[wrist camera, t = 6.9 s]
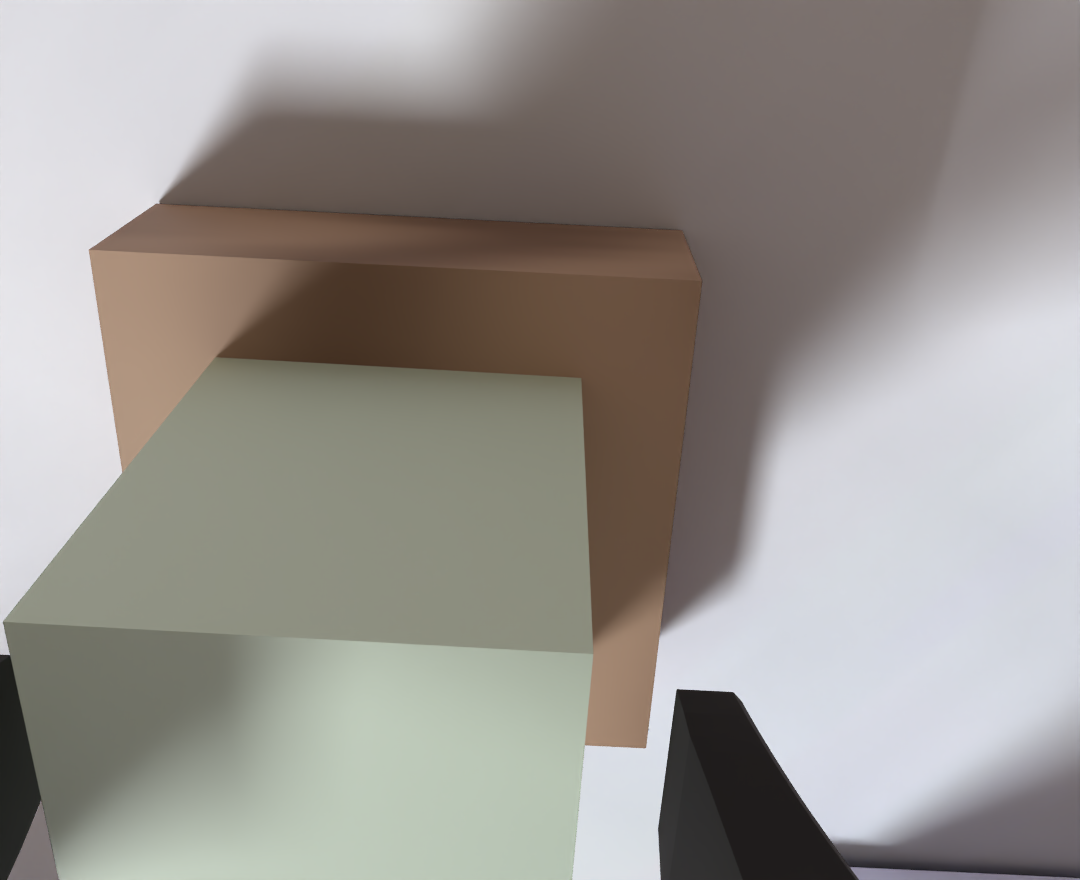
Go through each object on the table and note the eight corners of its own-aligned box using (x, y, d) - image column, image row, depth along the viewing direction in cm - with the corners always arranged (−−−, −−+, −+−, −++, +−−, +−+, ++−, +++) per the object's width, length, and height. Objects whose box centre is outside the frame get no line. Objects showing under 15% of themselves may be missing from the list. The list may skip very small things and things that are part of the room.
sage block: (580, 377, 14) (593, 654, 9) (558, 669, 16) (556, 1030, 11) (215, 357, 14) (3, 620, 9) (242, 651, 16) (87, 1006, 11)
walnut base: (682, 230, 16) (702, 281, 14) (636, 653, 19) (645, 748, 17) (156, 203, 16) (89, 250, 14) (206, 631, 19) (160, 724, 17)
